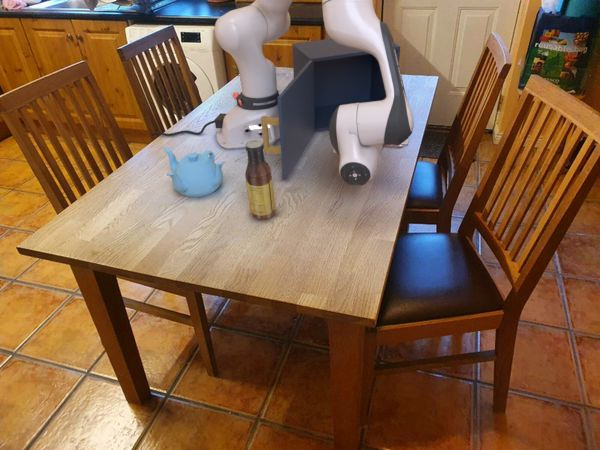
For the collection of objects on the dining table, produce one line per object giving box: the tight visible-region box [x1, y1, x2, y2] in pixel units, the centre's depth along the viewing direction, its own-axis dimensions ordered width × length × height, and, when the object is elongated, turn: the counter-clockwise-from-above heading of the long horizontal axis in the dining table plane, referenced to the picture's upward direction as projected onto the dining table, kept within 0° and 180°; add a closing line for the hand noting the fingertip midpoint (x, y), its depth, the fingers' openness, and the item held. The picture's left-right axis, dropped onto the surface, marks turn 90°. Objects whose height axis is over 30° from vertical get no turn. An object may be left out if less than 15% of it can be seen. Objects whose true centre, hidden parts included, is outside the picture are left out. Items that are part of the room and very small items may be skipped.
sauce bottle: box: [244, 139, 276, 221], centre depth 109 cm, size 7×6×20 cm
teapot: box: [163, 147, 226, 198], centre depth 123 cm, size 15×15×10 cm
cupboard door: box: [261, 60, 315, 181], centre depth 132 cm, size 7×30×24 cm, turn 163°
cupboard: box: [291, 38, 401, 133], centre depth 154 cm, size 18×30×24 cm, turn 108°
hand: (373, 121), depth 126 cm, fingers open, 8 cm apart
